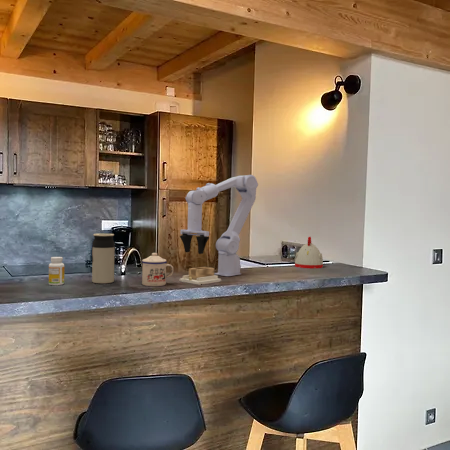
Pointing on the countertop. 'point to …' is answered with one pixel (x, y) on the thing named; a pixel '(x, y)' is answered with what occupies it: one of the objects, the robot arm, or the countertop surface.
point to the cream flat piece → (200, 279)
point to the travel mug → (103, 258)
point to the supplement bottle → (56, 271)
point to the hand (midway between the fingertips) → (194, 252)
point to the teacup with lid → (155, 271)
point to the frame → (200, 272)
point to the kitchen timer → (309, 256)
